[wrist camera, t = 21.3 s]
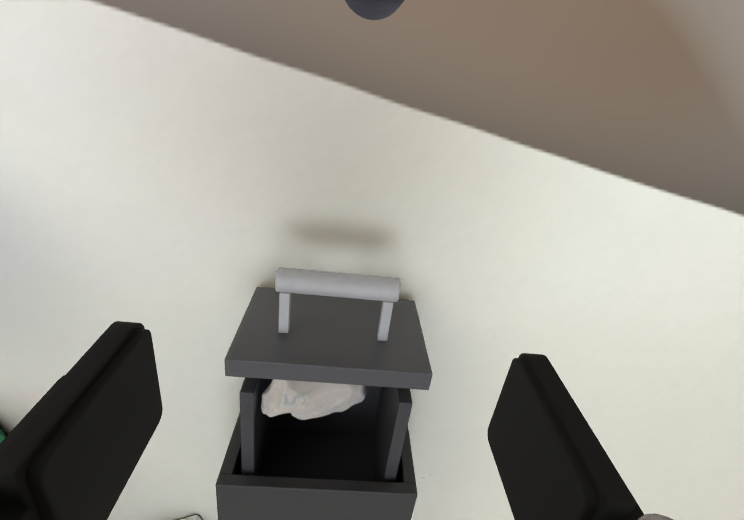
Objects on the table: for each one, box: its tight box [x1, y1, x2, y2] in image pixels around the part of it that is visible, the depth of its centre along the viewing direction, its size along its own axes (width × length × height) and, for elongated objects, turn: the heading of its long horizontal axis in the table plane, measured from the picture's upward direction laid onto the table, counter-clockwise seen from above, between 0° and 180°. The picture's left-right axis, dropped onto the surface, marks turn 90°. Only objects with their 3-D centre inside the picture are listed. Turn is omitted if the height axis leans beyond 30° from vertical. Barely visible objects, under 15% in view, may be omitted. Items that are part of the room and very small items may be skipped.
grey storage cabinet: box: [216, 413, 417, 520], centre depth 33 cm, size 15×13×10 cm
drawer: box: [225, 267, 432, 482], centre depth 28 cm, size 18×11×8 cm, turn 173°
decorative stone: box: [261, 379, 367, 420], centre depth 27 cm, size 9×6×3 cm, turn 65°
